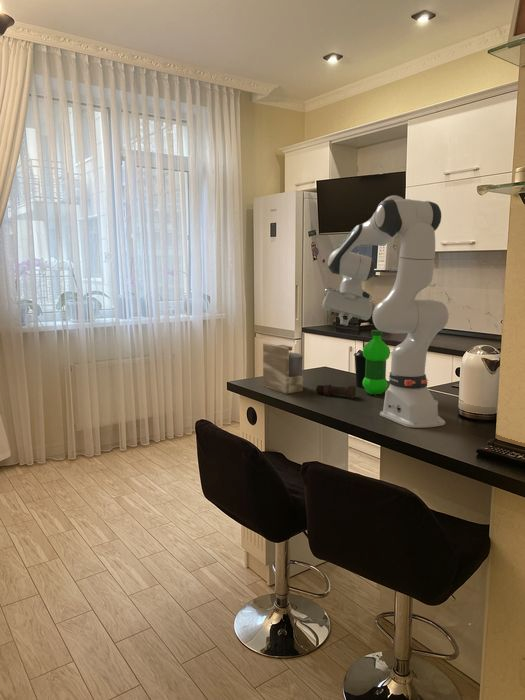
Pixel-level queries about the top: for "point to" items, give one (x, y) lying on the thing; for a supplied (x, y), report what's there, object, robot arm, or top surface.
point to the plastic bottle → (375, 364)
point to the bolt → (337, 390)
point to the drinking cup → (360, 367)
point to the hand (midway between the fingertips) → (343, 324)
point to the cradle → (279, 369)
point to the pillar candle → (295, 364)
